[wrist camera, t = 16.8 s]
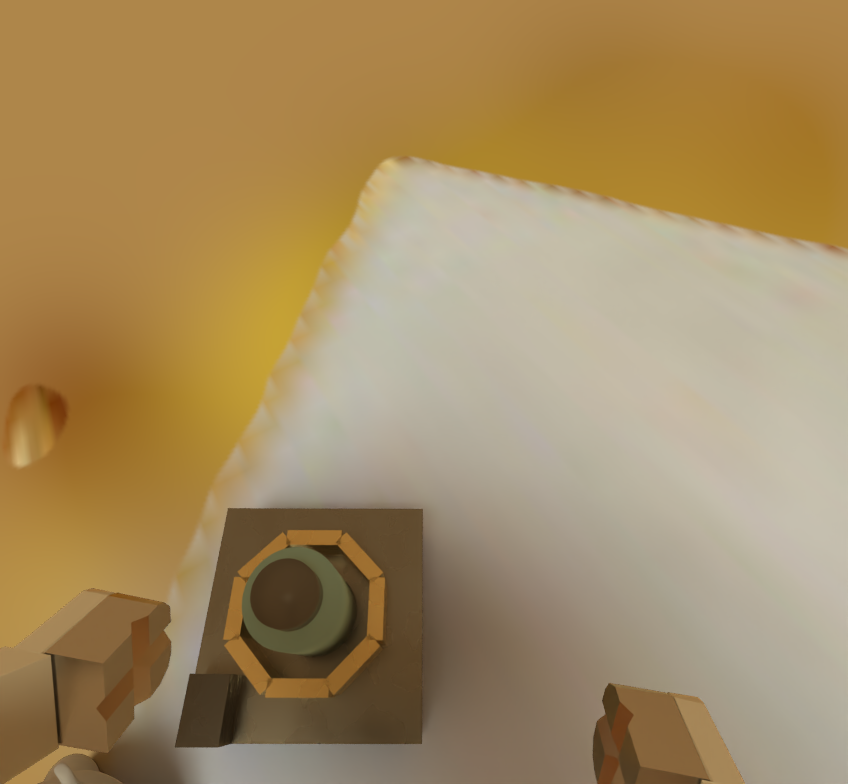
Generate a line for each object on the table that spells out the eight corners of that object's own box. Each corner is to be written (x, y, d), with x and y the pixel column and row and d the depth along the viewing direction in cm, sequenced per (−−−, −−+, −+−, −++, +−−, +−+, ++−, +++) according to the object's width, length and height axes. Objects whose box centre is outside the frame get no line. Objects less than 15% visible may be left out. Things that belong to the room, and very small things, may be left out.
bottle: (350, 659, 28) (327, 654, 21) (269, 653, 28) (218, 646, 21) (361, 574, 30) (342, 543, 23) (285, 568, 30) (244, 536, 23)
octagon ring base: (421, 734, 31) (422, 748, 24) (221, 734, 31) (159, 748, 23) (422, 534, 37) (422, 496, 30) (254, 534, 37) (214, 494, 29)
